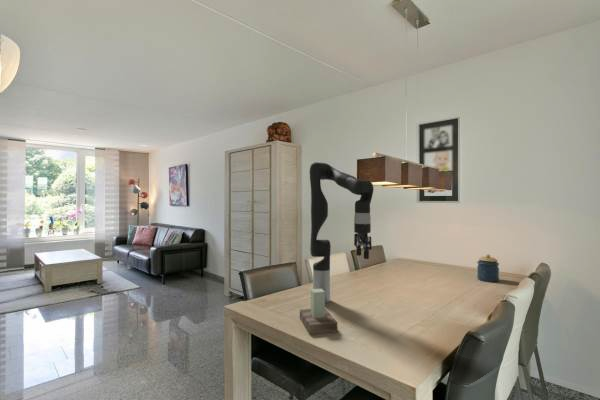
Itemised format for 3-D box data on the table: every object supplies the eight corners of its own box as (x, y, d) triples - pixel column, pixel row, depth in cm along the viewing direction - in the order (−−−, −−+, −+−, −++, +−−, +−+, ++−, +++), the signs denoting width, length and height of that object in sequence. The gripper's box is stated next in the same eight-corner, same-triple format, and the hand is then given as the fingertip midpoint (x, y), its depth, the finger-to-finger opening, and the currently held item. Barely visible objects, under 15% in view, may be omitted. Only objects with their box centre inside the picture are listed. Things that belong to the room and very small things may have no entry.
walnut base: (299, 318, 143) (299, 309, 143) (324, 316, 146) (324, 307, 146) (309, 334, 125) (309, 324, 125) (337, 331, 128) (337, 322, 128)
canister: (479, 281, 208) (479, 255, 209) (475, 277, 221) (475, 252, 221) (502, 283, 205) (501, 256, 205) (495, 278, 217) (495, 253, 217)
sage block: (310, 314, 137) (310, 289, 138) (321, 313, 139) (321, 288, 139) (313, 318, 133) (313, 292, 133) (324, 317, 134) (324, 291, 134)
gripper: (349, 221, 151) (349, 254, 151) (361, 223, 137) (361, 260, 137) (363, 221, 152) (363, 254, 152) (376, 223, 138) (376, 259, 138)
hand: (362, 257), depth 145 cm, fingers open, 8 cm apart
